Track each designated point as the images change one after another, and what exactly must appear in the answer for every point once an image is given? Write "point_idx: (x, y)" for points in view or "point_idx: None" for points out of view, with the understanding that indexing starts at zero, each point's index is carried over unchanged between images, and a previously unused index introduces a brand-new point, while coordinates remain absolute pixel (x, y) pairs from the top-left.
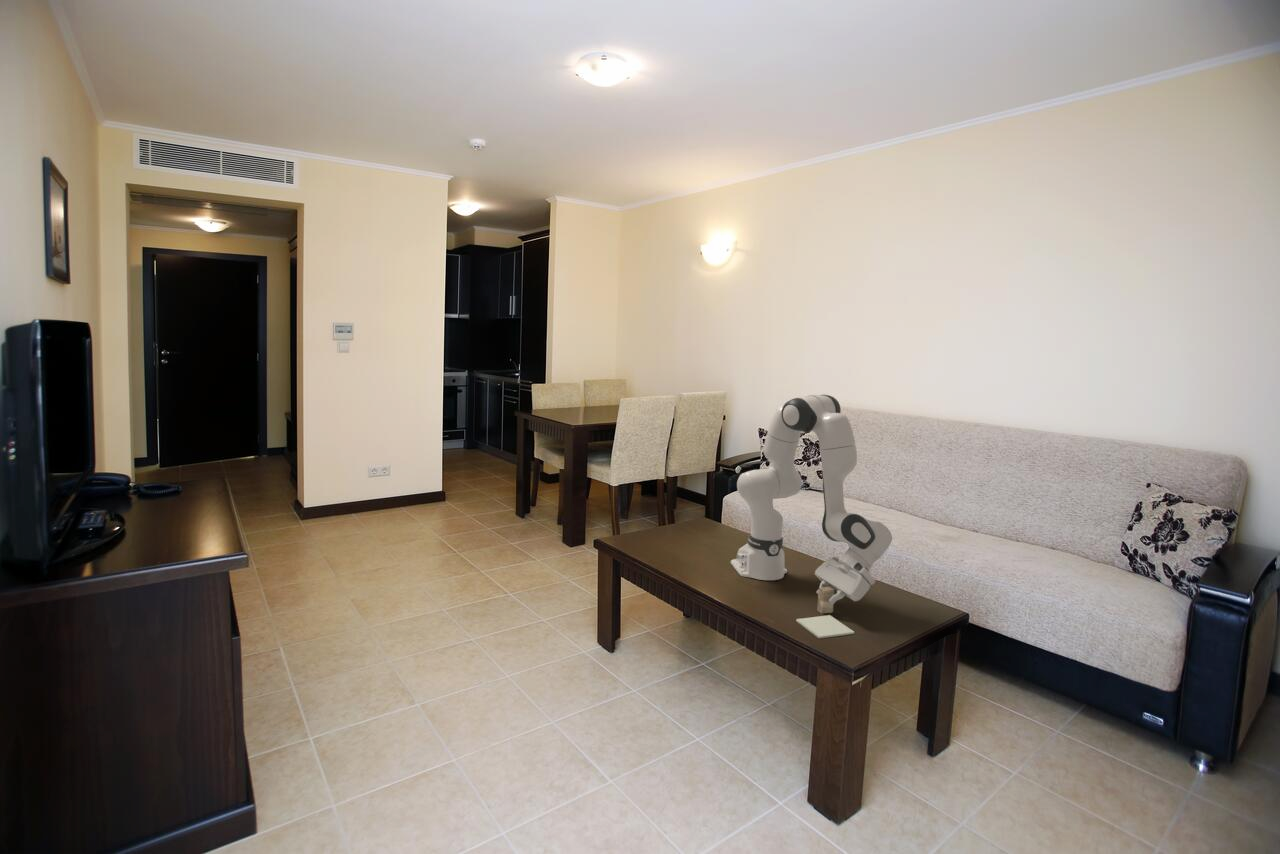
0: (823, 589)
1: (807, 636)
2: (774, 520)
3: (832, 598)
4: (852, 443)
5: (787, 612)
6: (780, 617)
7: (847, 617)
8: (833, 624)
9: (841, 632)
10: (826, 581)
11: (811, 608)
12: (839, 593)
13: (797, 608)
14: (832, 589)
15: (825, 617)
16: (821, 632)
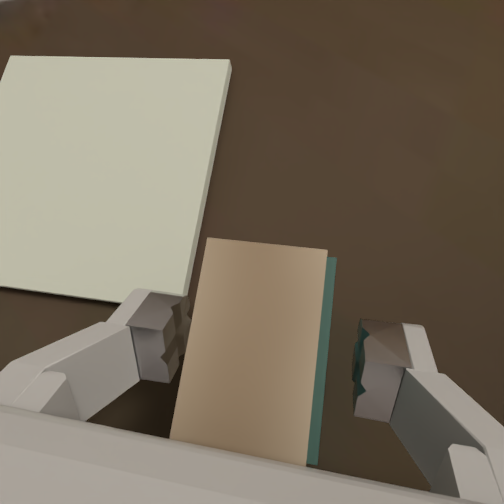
0: (250, 273)
1: (72, 35)
2: None
3: (119, 311)
4: None
5: (371, 96)
6: (319, 24)
7: None
8: (62, 224)
9: None
10: (412, 490)
11: (378, 299)
12: (2, 370)
13: (412, 197)
14: (192, 418)
15: (164, 248)
16: (32, 91)
